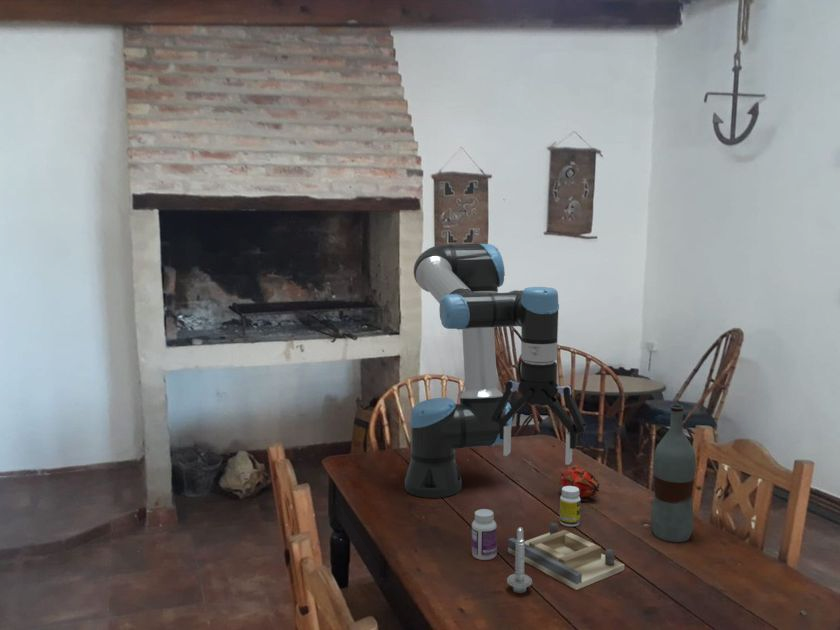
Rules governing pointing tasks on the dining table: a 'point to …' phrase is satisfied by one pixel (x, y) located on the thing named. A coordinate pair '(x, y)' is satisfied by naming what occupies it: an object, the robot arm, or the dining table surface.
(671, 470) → the vodka
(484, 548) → the pill bottle
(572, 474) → the dragon fruit
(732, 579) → the dining table surface
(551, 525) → the jig
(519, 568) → the screw
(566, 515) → the supplement bottle
